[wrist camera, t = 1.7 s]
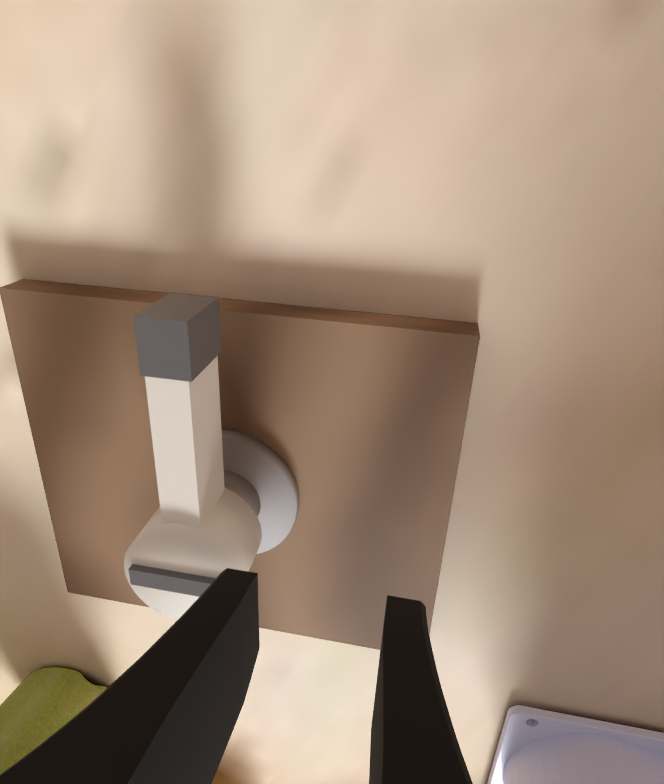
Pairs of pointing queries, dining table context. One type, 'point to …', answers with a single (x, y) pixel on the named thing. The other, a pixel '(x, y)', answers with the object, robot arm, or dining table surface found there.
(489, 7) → the dining table surface
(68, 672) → the plant pot
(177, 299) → the gray-tipped lever post
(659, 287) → the dining table surface
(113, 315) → the brown rectangular board
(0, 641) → the dining table surface
